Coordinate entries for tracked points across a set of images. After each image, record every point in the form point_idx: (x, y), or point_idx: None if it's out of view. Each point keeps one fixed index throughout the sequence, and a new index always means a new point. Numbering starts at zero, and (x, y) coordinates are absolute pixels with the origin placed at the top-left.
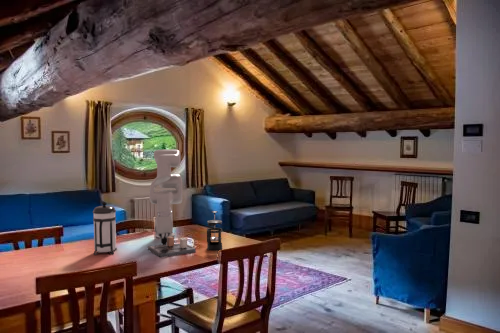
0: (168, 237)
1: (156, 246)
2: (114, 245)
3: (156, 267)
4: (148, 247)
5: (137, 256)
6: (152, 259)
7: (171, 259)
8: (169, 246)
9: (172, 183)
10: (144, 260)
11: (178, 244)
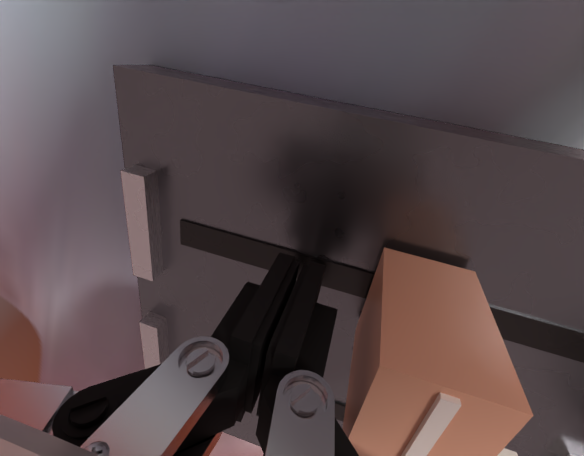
0: (371, 421)
1: (232, 159)
2: None
3: None
4: (120, 105)
5: (21, 225)
6: (114, 363)
7: (219, 447)
8: None
9: None
10: (63, 340)
11: (578, 332)
